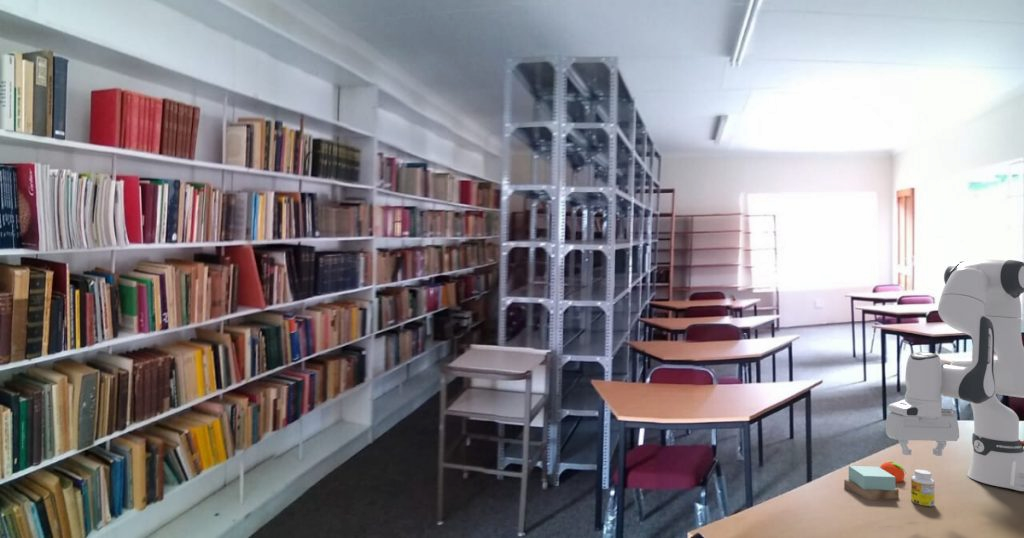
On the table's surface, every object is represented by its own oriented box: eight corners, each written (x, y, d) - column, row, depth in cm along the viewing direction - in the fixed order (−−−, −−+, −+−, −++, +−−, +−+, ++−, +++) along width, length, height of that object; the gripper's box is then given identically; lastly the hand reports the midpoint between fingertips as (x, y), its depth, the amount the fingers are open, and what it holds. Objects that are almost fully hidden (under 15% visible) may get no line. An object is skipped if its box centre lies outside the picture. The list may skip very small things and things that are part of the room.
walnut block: (870, 490, 181) (870, 477, 181) (898, 502, 171) (898, 489, 172) (844, 492, 179) (844, 479, 179) (870, 504, 169) (870, 491, 169)
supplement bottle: (908, 501, 171) (909, 467, 171) (930, 504, 169) (931, 469, 169) (914, 508, 166) (914, 473, 166) (937, 511, 164) (937, 476, 164)
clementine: (912, 486, 183) (912, 464, 183) (899, 490, 180) (899, 467, 180) (887, 478, 191) (887, 457, 191) (874, 481, 188) (874, 460, 188)
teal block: (878, 479, 179) (878, 466, 179) (895, 490, 170) (895, 477, 170) (848, 478, 180) (848, 465, 180) (864, 489, 171) (864, 475, 171)
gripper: (947, 406, 172) (947, 452, 171) (882, 404, 170) (881, 451, 170) (965, 411, 165) (964, 458, 165) (898, 409, 164) (897, 457, 164)
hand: (922, 455), depth 168 cm, fingers open, 8 cm apart
